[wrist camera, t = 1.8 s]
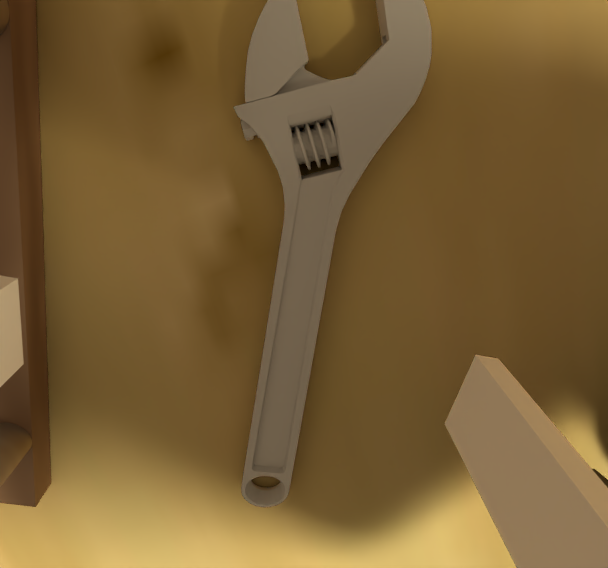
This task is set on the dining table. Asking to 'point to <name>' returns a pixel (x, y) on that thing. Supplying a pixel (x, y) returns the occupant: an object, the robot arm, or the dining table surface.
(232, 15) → the dining table surface
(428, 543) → the dining table surface
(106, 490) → the dining table surface
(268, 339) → the adjustable wrench
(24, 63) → the rack
